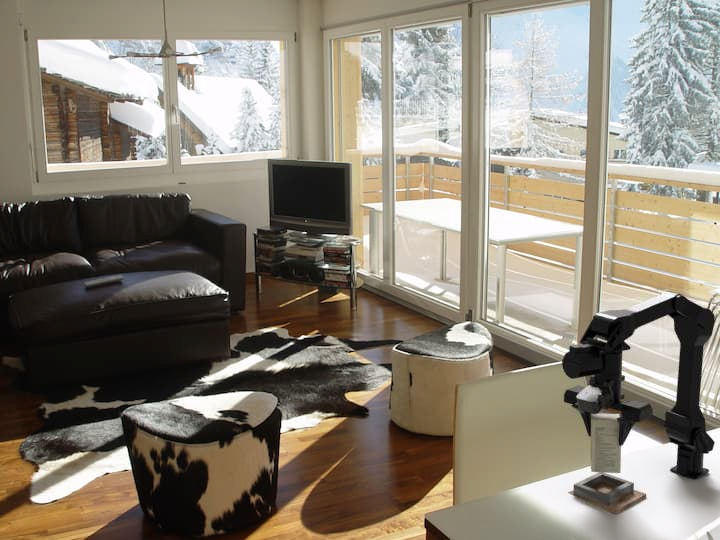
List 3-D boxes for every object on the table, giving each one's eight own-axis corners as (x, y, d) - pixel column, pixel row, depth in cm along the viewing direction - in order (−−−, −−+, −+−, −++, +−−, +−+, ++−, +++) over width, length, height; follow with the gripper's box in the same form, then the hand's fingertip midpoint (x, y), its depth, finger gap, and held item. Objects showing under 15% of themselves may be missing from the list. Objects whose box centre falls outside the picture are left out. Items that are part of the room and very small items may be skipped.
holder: (598, 480, 188) (598, 468, 188) (646, 497, 179) (646, 484, 179) (567, 495, 181) (567, 483, 180) (615, 514, 172) (616, 500, 171)
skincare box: (618, 466, 181) (621, 413, 178) (620, 474, 176) (623, 420, 174) (588, 464, 182) (590, 411, 180) (589, 472, 178) (592, 418, 176)
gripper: (549, 370, 177) (547, 438, 180) (626, 389, 163) (623, 463, 166) (579, 360, 184) (577, 426, 187) (655, 377, 170) (652, 448, 173)
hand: (605, 440), depth 178 cm, fingers closed on skincare box, 7 cm apart
